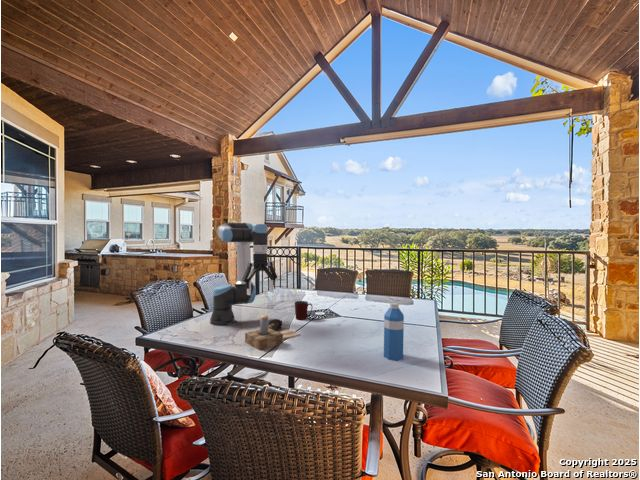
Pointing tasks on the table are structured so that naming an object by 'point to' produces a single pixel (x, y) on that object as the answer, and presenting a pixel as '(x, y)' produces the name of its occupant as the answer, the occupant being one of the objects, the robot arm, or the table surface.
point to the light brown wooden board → (288, 334)
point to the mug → (301, 310)
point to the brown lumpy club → (275, 324)
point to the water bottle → (393, 333)
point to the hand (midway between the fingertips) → (260, 293)
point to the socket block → (263, 339)
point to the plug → (264, 325)
